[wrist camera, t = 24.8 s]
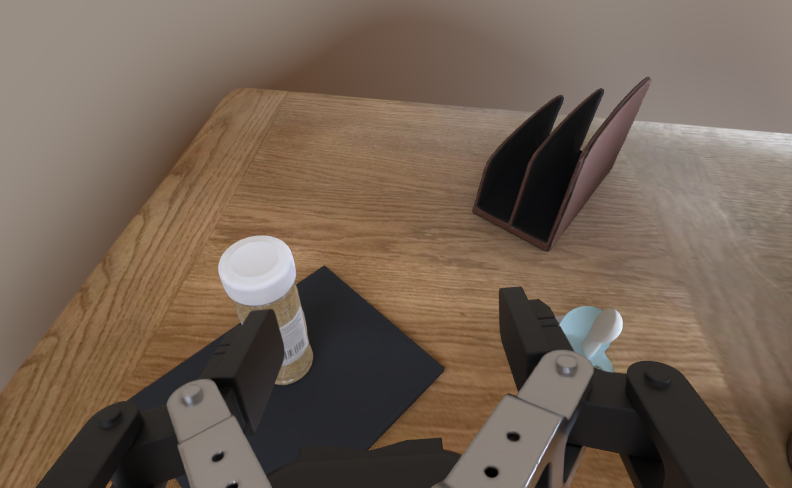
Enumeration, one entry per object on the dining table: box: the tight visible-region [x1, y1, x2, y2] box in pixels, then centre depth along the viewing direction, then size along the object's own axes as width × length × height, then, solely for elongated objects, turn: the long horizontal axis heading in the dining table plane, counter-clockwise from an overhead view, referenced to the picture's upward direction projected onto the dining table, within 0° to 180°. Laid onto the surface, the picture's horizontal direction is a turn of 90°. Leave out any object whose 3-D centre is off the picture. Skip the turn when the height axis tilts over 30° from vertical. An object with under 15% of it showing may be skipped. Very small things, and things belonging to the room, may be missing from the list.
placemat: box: [127, 266, 445, 488], centre depth 36 cm, size 20×16×1 cm
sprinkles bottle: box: [218, 236, 313, 385], centre depth 32 cm, size 5×5×14 cm
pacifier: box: [555, 306, 623, 372], centre depth 37 cm, size 7×6×6 cm
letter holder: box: [473, 77, 651, 251], centre depth 50 cm, size 10×20×14 cm, turn 142°
